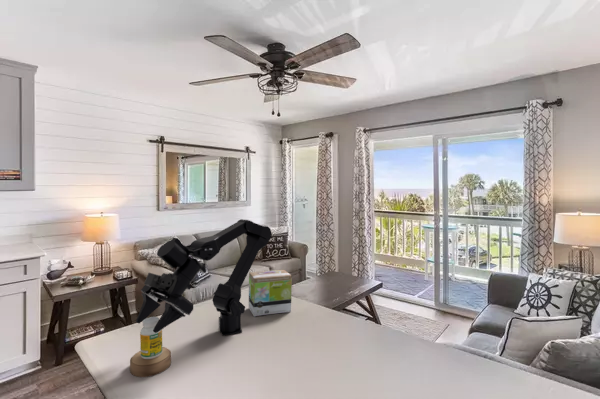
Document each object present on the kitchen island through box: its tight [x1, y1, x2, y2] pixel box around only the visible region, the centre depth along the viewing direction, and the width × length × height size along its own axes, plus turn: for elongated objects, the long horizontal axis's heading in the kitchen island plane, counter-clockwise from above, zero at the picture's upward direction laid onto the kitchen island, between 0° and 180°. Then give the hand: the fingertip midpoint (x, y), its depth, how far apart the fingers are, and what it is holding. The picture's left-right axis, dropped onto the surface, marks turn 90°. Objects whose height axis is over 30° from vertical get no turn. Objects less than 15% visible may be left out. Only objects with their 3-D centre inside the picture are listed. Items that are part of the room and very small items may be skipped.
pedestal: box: [129, 346, 172, 378], centre depth 86 cm, size 10×10×3 cm
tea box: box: [248, 269, 293, 317], centre depth 125 cm, size 15×10×15 cm
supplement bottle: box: [139, 316, 163, 359], centre depth 85 cm, size 5×5×10 cm
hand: (145, 327), depth 84 cm, fingers open, 9 cm apart
